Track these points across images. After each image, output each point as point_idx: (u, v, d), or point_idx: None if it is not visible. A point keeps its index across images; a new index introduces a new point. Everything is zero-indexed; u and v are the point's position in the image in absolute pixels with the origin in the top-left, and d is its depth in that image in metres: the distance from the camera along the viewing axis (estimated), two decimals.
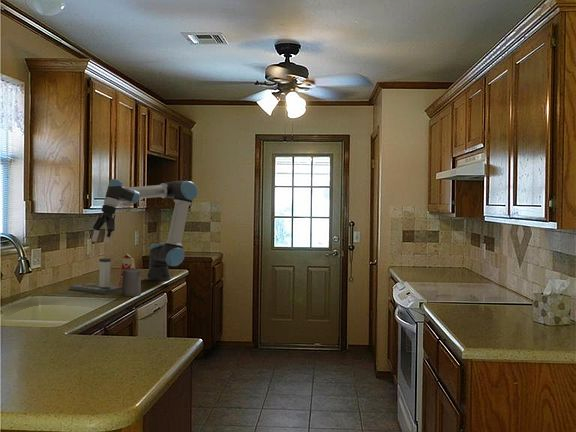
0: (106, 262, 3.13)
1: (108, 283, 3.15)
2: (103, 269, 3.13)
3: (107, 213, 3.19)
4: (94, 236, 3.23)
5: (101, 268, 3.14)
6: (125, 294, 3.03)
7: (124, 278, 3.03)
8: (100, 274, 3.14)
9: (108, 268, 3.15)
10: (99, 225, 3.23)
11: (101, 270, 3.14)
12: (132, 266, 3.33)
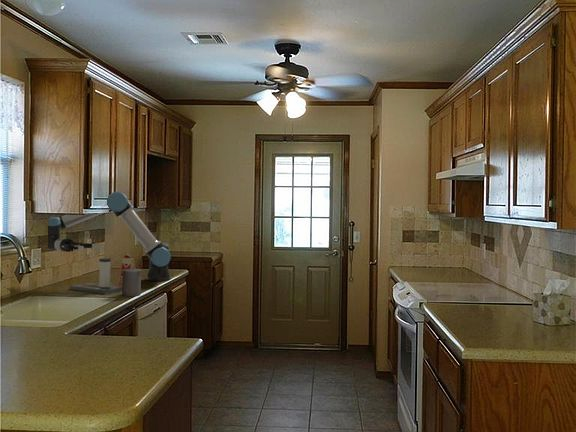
0: (106, 262, 3.13)
1: (108, 283, 3.15)
2: (103, 269, 3.13)
3: None
4: (96, 247, 3.26)
5: (101, 268, 3.14)
6: (125, 294, 3.03)
7: (124, 278, 3.03)
8: (100, 274, 3.14)
9: (108, 268, 3.15)
10: (86, 246, 3.27)
11: (101, 270, 3.14)
12: (132, 266, 3.33)
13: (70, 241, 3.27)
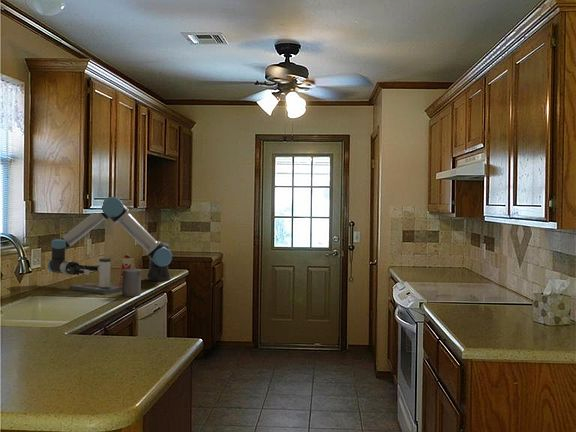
0: (106, 262, 3.13)
1: (108, 283, 3.15)
2: (103, 269, 3.13)
3: None
4: None
5: (101, 268, 3.14)
6: (125, 294, 3.03)
7: (124, 278, 3.03)
8: (100, 274, 3.14)
9: (108, 268, 3.15)
10: (92, 269, 3.25)
11: (101, 270, 3.14)
12: (132, 266, 3.33)
13: (76, 264, 3.25)
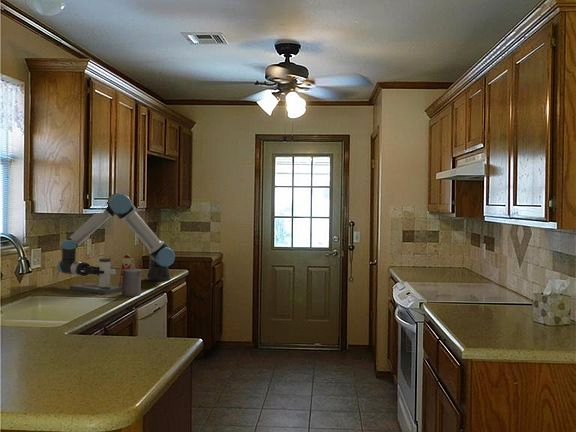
0: (106, 262, 3.13)
1: (108, 283, 3.15)
2: (103, 269, 3.13)
3: None
4: (111, 272, 3.16)
5: (101, 268, 3.14)
6: (125, 294, 3.03)
7: (124, 278, 3.03)
8: (100, 274, 3.14)
9: (108, 268, 3.15)
10: None
11: None
12: (132, 266, 3.33)
13: (86, 265, 3.22)
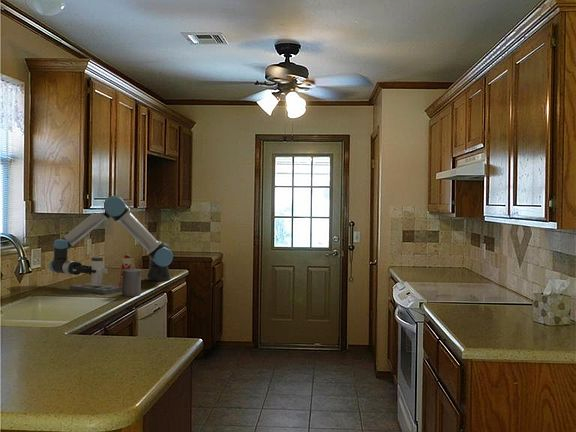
0: (98, 261, 3.16)
1: (100, 282, 3.18)
2: (94, 268, 3.16)
3: None
4: (103, 271, 3.18)
5: (93, 267, 3.16)
6: (125, 294, 3.03)
7: (124, 278, 3.03)
8: (92, 273, 3.16)
9: (100, 267, 3.17)
10: None
11: None
12: (132, 266, 3.33)
13: (78, 264, 3.24)
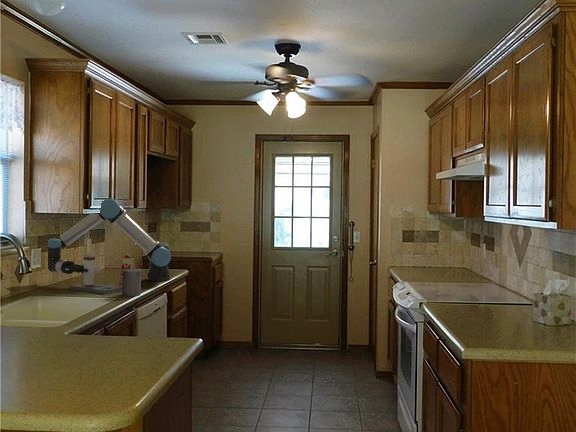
0: (90, 260, 3.18)
1: (92, 281, 3.20)
2: (87, 267, 3.18)
3: None
4: (95, 270, 3.21)
5: (85, 266, 3.19)
6: (125, 294, 3.03)
7: (124, 278, 3.03)
8: (84, 272, 3.19)
9: (92, 266, 3.20)
10: None
11: None
12: (132, 266, 3.33)
13: (71, 263, 3.27)
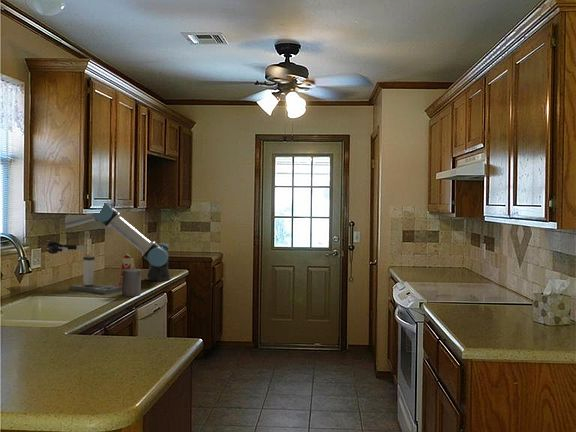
0: (90, 260, 3.18)
1: (92, 281, 3.21)
2: (86, 267, 3.18)
3: None
4: (81, 248, 3.31)
5: (85, 266, 3.19)
6: (125, 294, 3.03)
7: (124, 278, 3.03)
8: (84, 272, 3.19)
9: (92, 266, 3.20)
10: (71, 247, 3.32)
11: (85, 268, 3.19)
12: (132, 266, 3.33)
13: (55, 243, 3.32)
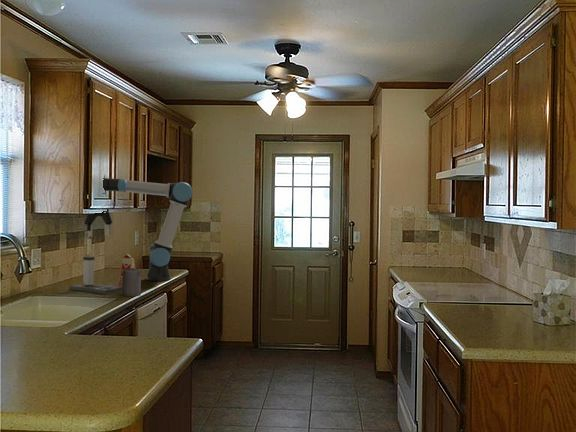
0: (90, 260, 3.18)
1: (92, 281, 3.21)
2: (86, 267, 3.18)
3: None
4: (105, 230, 3.46)
5: (85, 266, 3.19)
6: (125, 294, 3.03)
7: (124, 278, 3.03)
8: (84, 272, 3.19)
9: (92, 266, 3.20)
10: (104, 219, 3.44)
11: (85, 268, 3.19)
12: (132, 266, 3.33)
13: None
